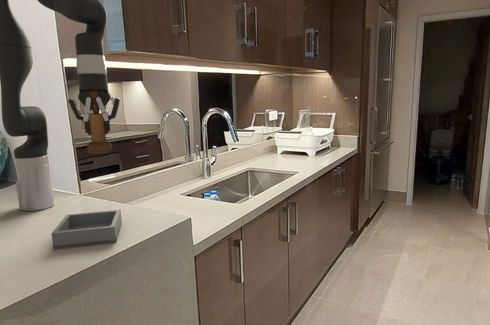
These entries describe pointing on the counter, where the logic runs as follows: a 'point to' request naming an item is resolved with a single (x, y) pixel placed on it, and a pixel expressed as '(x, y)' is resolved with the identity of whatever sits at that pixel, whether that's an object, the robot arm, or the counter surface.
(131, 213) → the counter surface
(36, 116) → the robot arm
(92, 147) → the turned wooden knob
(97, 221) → the tray
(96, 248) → the counter surface
